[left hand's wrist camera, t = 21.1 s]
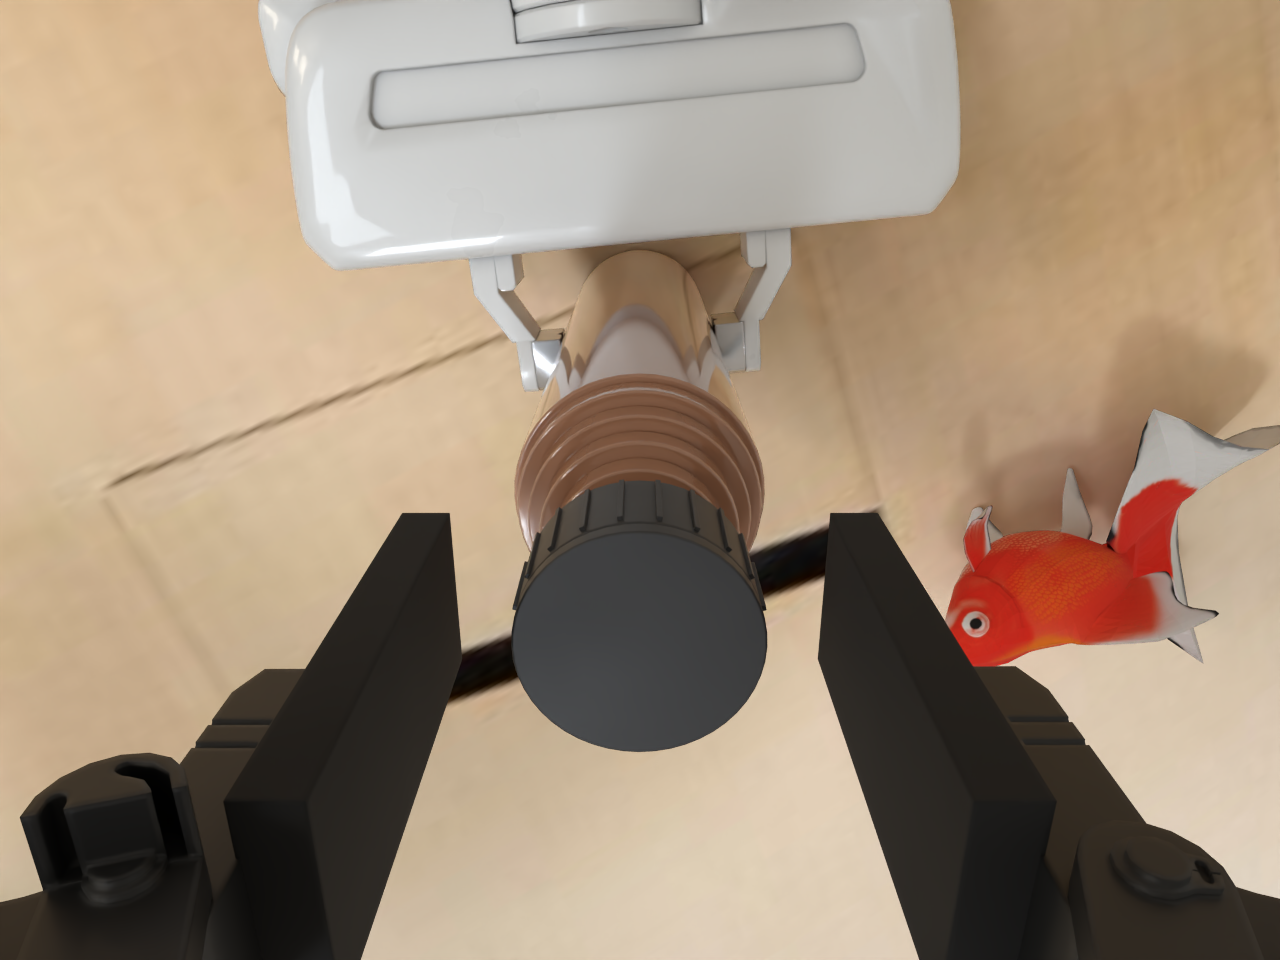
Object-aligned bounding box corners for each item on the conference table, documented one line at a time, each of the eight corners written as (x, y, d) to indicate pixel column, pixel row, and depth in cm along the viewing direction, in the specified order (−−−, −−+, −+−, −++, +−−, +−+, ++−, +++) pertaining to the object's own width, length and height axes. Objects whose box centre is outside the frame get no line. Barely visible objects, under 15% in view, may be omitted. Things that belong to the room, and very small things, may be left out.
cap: (685, 433, 14) (692, 480, 12) (794, 620, 15) (816, 689, 13) (479, 544, 14) (455, 605, 13) (599, 714, 16) (594, 792, 14)
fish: (877, 441, 33) (1105, 605, 26) (1163, 300, 38) (1421, 407, 31) (867, 628, 40) (1045, 797, 33) (1110, 489, 45) (1311, 611, 38)
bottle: (550, 315, 36) (399, 628, 13) (638, 221, 35) (636, 393, 12) (640, 399, 38) (641, 816, 15) (728, 313, 36) (880, 623, 13)
